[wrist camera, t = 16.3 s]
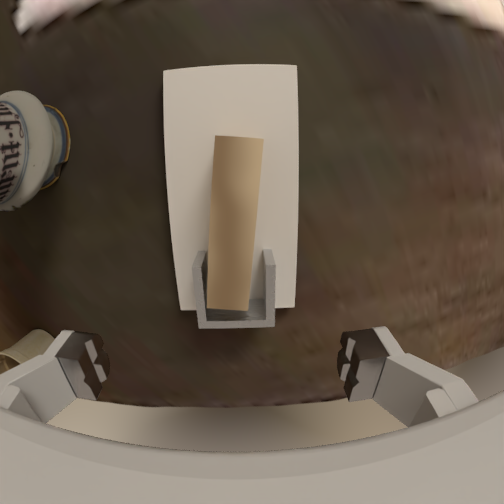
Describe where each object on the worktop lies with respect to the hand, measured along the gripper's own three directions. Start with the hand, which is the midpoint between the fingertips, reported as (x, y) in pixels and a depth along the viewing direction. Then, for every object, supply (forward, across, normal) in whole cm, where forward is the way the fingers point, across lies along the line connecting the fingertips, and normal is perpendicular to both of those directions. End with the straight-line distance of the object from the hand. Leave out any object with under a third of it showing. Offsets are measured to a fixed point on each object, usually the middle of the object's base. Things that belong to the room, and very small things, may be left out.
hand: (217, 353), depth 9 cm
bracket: (+21, 0, -2) cm, 21 cm away
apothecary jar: (+21, +22, -9) cm, 32 cm away
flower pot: (+21, +29, +18) cm, 40 cm away
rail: (+19, 0, 0) cm, 19 cm away
